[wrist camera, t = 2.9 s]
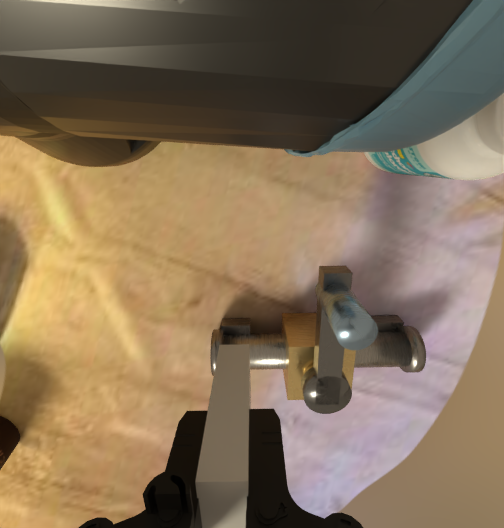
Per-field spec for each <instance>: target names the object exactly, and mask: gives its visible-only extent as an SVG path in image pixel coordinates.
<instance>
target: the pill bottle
mask: <svg viewBox="0 0 504 528" xmlns="http://www.w3.org/2000/svg"><path fill="white" fill-rule="evenodd" d="M364 154H365V156H366V157H367V159H368V160H369V161H370V162H371V163H372V164H373V165H374V166H376V167H377V168H379V169H381V170H383V171H386V172H389V173H396V174H407V175H417V176H428V177H438V178H447V179H458V180H480V179H486V178H490V177H494V176H497V175H500V174H502V173H504V93H503V94H502V95H501V96H499V97H498V98H497V99H495V100H494V101H493V102H491V103H490V104H489V105H487V106H486V107H485V108H483V109H482V110H480V111H479V112H478V113H476V114H475V115H473V116H472V117H470V118H468V119H467V120H465V121H464V122H462V123H461V124H459V125H457V126H456V127H454V128H452V129H450V130H448V131H447V132H445V133H443V134H441V135H439V136H437V137H435V138H433V139H430V140H428V141H425V142H423V143H420V144H418V145H414V146H410V147H407V148H403V149H398V150H395V151H389V152H364Z"/></svg>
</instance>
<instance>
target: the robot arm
mask: <svg viewBox="0 0 504 528" xmlns="http://www.w3.org/2000/svg"><path fill="white" fill-rule="evenodd" d="M503 93H504V0H0V135H3V136H14V137H16V138H18V139H20V140H22V141H24V142H25V143H27V144H29V145H31V146H33V147H34V148H36V149H38V150H40V151H42V152H44V153H46V154H47V155H49V156H52V157H54V158H56V159H59V160H61V161H64V162H68V163H71V164H76V165H81V166H89V167H108V166H118V165H123V164H127V163H130V162H133V161H135V160H137V159H139V158H141V157H143V156H144V155H146V154H148V153H149V152H150V151H152V150H153V149H154V148H155V147H156V146H157V145H158V144H159V143H160V142H161V141H163V142H179V143H195V144H210V145H226V146H242V147H257V148H273V149H284V150H285V151H286V152H287V153H289V154H292V155H294V156H301V157H311V156H312V155H324V154H326V153H329V152H332V151H335V152H389V151H395V150H398V149H403V148H407V147H410V146H414V145H418V144H420V143H423V142H425V141H428V140H430V139H433V138H435V137H437V136H439V135H441V134H443V133H445V132H447V131H448V130H450V129H452V128H454V127H456V126H457V125H459V124H461V123H462V122H464V121H465V120H467V119H468V118H470V117H472V116H473V115H475V114H476V113H478V112H479V111H480V110H482V109H483V108H485V107H486V106H487V105H489V104H490V103H491V102H493V101H494V100H495V99H497V98H498V97H499V96H501V95H502V94H503ZM143 498H144V503H145V507H146V509H145V510H144V511H143V512H142V513H140V514H138V515H136V516H134V517H132V518H129V519H126V520H124V521H121V522H119V523H116V524H113V523H112V522H111V521H110V520H108V519H107V518H95V519H92V520H89V521H87V522H85V523H84V524H83V525H81V526H80V527H79V528H363V527H362V525H361V524H360V523H359V522H358V521H356V520H355V519H354V518H353V517H352V516H349V515H347V514H344V513H332V514H331V515H329V516H328V517H326V518H325V519H324V518H321V517H319V516H316V515H313V514H311V513H308V512H306V511H304V510H303V509H301V508H300V507H299V506H298V505H297V504H296V503H295V502H294V500H293V499H292V497H291V495H290V493H289V491H288V486H287V479H286V470H285V461H284V452H283V444H282V434H281V425H280V419H279V417H278V415H277V414H276V412H275V410H274V409H251V385H250V349H249V344H239V345H219V350H218V356H217V362H216V367H215V373H214V379H213V384H212V390H211V396H210V401H209V407H208V411H187V412H186V413H185V414H184V416H183V417H182V419H181V420H180V421H179V423H178V427H177V431H176V434H175V438H174V441H173V445H172V448H171V452H170V456H169V459H168V463H167V466H166V470H165V472H163V473H161V474H159V475H158V476H156V477H154V479H153V480H152V481H151V482H150V483H149V484H148V485H147V487H146V489H145V491H144V493H143Z"/></svg>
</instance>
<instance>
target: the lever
mask: <svg viewBox="0 0 504 528" xmlns="http://www.w3.org/2000/svg"><path fill="white" fill-rule="evenodd" d="M351 281H352V272H351V271H350V270H349V269H348V268H347V267H346V266H319V281H318V284H317V286H316V289H315V293H316V296H317V314H316V330H315V347H314V363H313V367H312V368H310V369H309V370H307V371H306V372H305V374H304V375H303V377H302V380H301V387H302V392H303V396H304V401H305V403H306V405H307V406H308V407H309V408H310V409H311V410H313V411H315V412H317V413H322V414H330V413H334V412H337V411H339V410H341V409H343V408H344V407H345V406H346V405H347V404H348V403H349V401H350V399H351V396H352V390H351V387H350V385H349V383H348V380H347V378H346V376H345V374H344V372H343V371H342V368H343V359H344V349H345V348H346V349H349V350H361V349H364V348H366V347H368V346H370V345H371V344H372V343H373V342H374V341H375V339H376V337H377V334H378V327H377V324H376V323H375V321H374V320H373V319H372V317H371V316H370V315H369V313H368V312H367V311H366V310H365V308H364V307H363V306H362V304H361V303H360V302H359V300H358V299H357V298H356V297H355V295H354V294H353V293H352V291H351Z"/></svg>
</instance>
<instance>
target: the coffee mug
mask: <svg viewBox="0 0 504 528" xmlns="http://www.w3.org/2000/svg"><path fill="white" fill-rule="evenodd" d="M19 440H20V434H19V431H18V429H17V428H16V426H15V425H14V424H13V423H11V422H10V421H9V420H7V419H5V418H4V417H1V416H0V469H1V468H2V466H3V465H4V464H5V462H6V461H7V459H8V458H9V456H10V455H11V453H12V452H13V450H14V449H15V447H16V446H17V444H18V442H19Z"/></svg>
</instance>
